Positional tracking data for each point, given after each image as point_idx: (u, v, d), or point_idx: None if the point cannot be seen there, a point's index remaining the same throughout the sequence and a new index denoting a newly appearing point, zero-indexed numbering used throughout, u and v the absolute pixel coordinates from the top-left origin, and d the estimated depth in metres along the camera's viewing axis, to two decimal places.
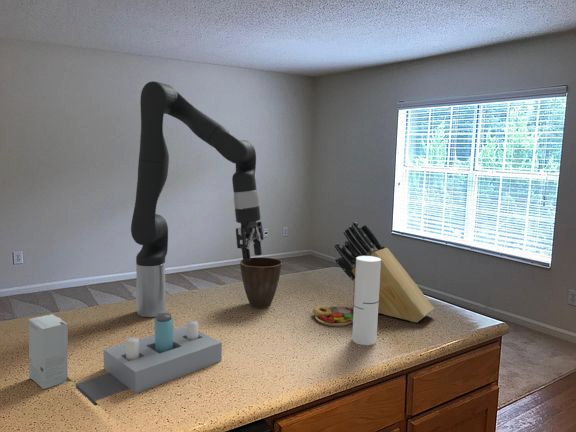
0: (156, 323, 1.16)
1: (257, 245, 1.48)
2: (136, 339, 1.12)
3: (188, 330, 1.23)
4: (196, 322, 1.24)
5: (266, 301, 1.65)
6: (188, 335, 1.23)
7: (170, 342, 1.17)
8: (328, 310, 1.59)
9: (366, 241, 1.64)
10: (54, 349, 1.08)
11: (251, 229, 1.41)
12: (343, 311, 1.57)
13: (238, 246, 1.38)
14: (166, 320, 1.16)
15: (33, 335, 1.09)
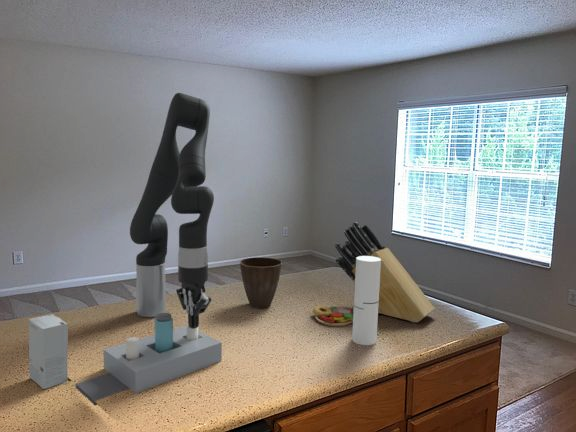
0: (156, 323, 1.16)
1: None
2: (136, 339, 1.12)
3: (188, 335, 1.23)
4: None
5: (266, 301, 1.65)
6: None
7: (170, 342, 1.17)
8: (328, 310, 1.59)
9: (367, 241, 1.64)
10: (54, 349, 1.08)
11: None
12: (343, 311, 1.57)
13: None
14: (166, 320, 1.16)
15: (33, 335, 1.09)
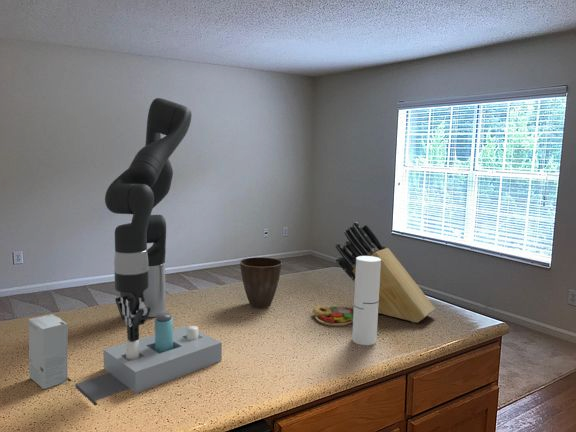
0: (156, 323, 1.16)
1: None
2: None
3: (188, 336, 1.23)
4: (197, 327, 1.24)
5: (266, 301, 1.65)
6: None
7: (170, 342, 1.17)
8: (328, 310, 1.59)
9: (367, 241, 1.64)
10: (54, 349, 1.08)
11: None
12: (343, 311, 1.57)
13: None
14: (166, 320, 1.16)
15: (33, 335, 1.09)
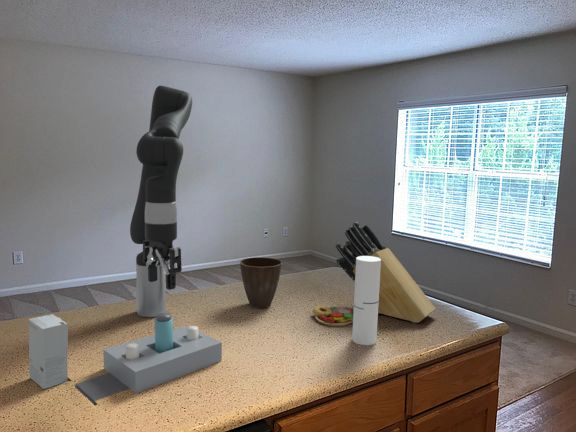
0: (156, 323, 1.16)
1: None
2: (136, 345, 1.12)
3: (188, 336, 1.23)
4: (197, 327, 1.24)
5: (266, 301, 1.65)
6: None
7: (170, 342, 1.17)
8: (328, 310, 1.59)
9: (367, 241, 1.63)
10: (54, 349, 1.08)
11: None
12: (343, 311, 1.57)
13: None
14: (166, 320, 1.16)
15: (33, 335, 1.09)
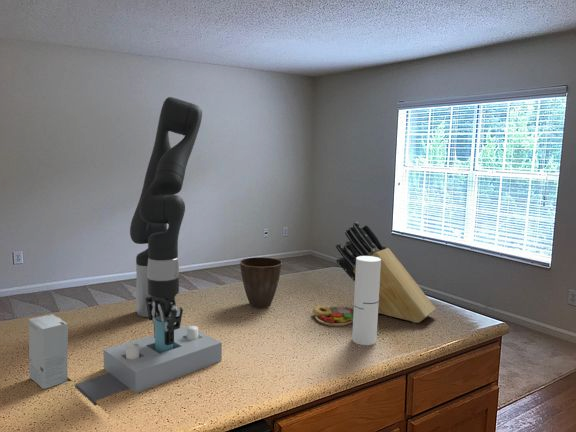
0: (156, 323, 1.16)
1: None
2: (136, 345, 1.12)
3: (188, 336, 1.23)
4: (197, 327, 1.24)
5: (266, 301, 1.65)
6: None
7: None
8: (328, 310, 1.59)
9: (367, 241, 1.63)
10: (54, 349, 1.08)
11: None
12: (343, 311, 1.56)
13: None
14: None
15: (33, 335, 1.09)
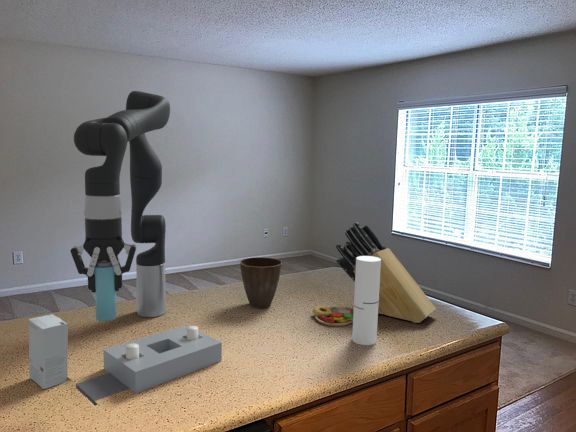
0: (104, 270, 1.02)
1: (115, 277, 1.05)
2: (136, 345, 1.12)
3: (188, 336, 1.23)
4: (197, 327, 1.24)
5: (266, 301, 1.65)
6: None
7: None
8: (328, 310, 1.59)
9: (368, 241, 1.63)
10: (54, 349, 1.08)
11: (94, 249, 1.02)
12: (343, 311, 1.56)
13: None
14: None
15: (33, 335, 1.09)
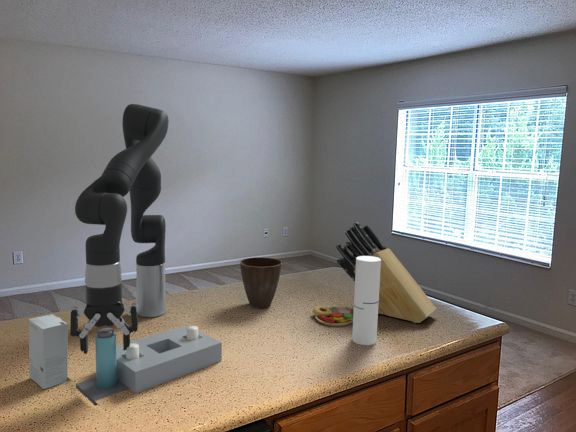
0: (105, 341, 1.05)
1: (123, 336, 1.07)
2: (136, 345, 1.12)
3: (188, 336, 1.23)
4: (197, 327, 1.24)
5: (266, 301, 1.65)
6: None
7: None
8: (328, 310, 1.59)
9: (368, 241, 1.63)
10: (54, 349, 1.08)
11: (94, 314, 1.04)
12: (343, 311, 1.56)
13: None
14: (113, 333, 1.07)
15: (33, 335, 1.09)
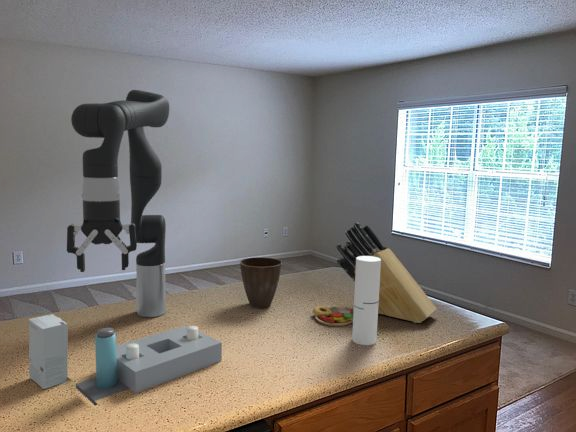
0: (105, 340, 1.05)
1: None
2: (136, 345, 1.12)
3: (188, 336, 1.23)
4: (197, 327, 1.24)
5: (266, 301, 1.65)
6: None
7: None
8: (328, 310, 1.59)
9: (368, 242, 1.63)
10: (54, 349, 1.08)
11: (92, 231, 1.01)
12: (343, 311, 1.56)
13: None
14: (113, 333, 1.07)
15: (33, 335, 1.09)
